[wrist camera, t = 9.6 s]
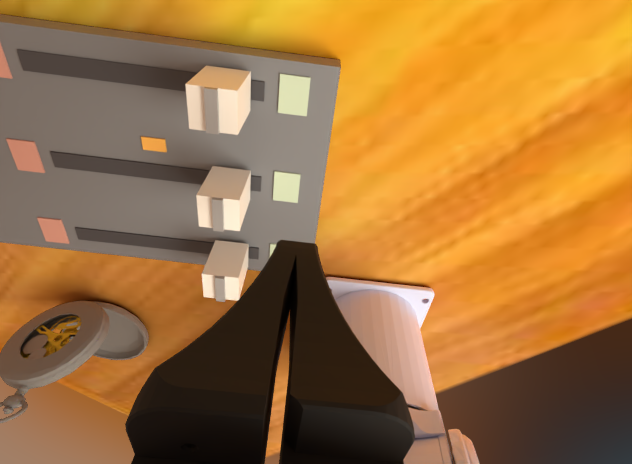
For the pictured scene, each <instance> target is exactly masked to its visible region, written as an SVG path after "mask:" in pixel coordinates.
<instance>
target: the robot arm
mask: <svg viewBox="0 0 632 464" xmlns="http://www.w3.org/2000/svg"><path fill="white" fill-rule="evenodd" d="M330 288H331V289H330ZM426 298H427V299H426ZM433 298H434V291H433V289H431V288H427V287H418V286H409V285H400V284H391V283H382V282H373V281H364V280H355V279H345V278H336V277H325V275H324V272H323V269H322V265H321V262H320V258H319V254H318V247H317V245H316V244H315V243H306V242H297V241H289V240H279V241H278V242H277V244H276V247H275V249H274V251H273V253H272V255H271V256H270V258H269V260H268V261H267V263H266V265H265V266H264V268H263V269H262V271H261V272H260V274H259V275H258V277H257V278H256V279H255V281H254V282H253V283H252V284H251V286H250V287H249V288H248V289H247V291H246V292H245V293H244V294H243V296H242V297H241V298H240V299H239V300H238V301H237V302H236V303H235V304H234V306H233V307H232V308H231V309H230V310H229V311H228V312H227V313H226V314H225V315H224V316H223V317H222V318H220V319H219V320H218V321H217V322H216V323H215V324H214V325H213V326H212V327H211V328H210V329H208V330H207V331H206V332H205V333H203V334H202V335H201V336H200V337H198V338H197V339H196V340H195V341H193V342H192V343H191V344H190V345H188V346H187V347H186V348H184V349H183V350H181V351H180V352H179V353H177V354H176V355H174V356H173V357H171V358H170V359H168V360H167V361H165V362H164V363H162V364H161V365H159V366H157V367H156V368H155V369H154V370H153V372H152V373H151V375H150V376H149V378H148V379H147V381H146V382H145V384H144V386H143V387H142V389H141V391H140V393H139V394H138V396H137V398H136V400H135V402H134V405H133V407H132V409H131V412H130V414H129V417H128V419H127V421H126V424H125V425H126V432H127V434H128V437H129V440H130V442H131V445H132V448H133V450H134V453H135V456H134V458H133V461H132V463H131V464H264V463H265V455H266V447H267V440H268V432H269V424H270V416H271V408H272V400H273V393H274V385H275V377H276V371H277V365H278V360H279V356H280V351H281V347H282V342H283V338H284V333H285V329H286V324H287V320H288V316H289V311H290V351H289V376H288V386H287V395H286V404H285V414H284V423H283V432H282V441H281V451H280V460H279V464H453V462H452V458H451V453H450V449H449V445H448V441H447V437H446V433H445V429H444V425H443V421H442V417H441V414H440V411H439V410H438V405H437V401H436V396H435V392H434V388H433V383H432V379H431V375H430V370H429V366H428V362H427V358H426V353H425V349H424V345H423V340H422V336H421V332H420V328H421V326H422V323H423V321H424V319H425V316H426V314H427V312H428V310H429V307H430V305H431V303H432V300H433ZM423 299H424V300H423ZM448 432H449V436H450V440H451V444H452V448H453V451H452V454H453V459H454V463H455V464H479V461H478V458H477V455H476V452H475V449H474V446H473V443H472V441H471V440H470V439H469V438H467V437H466V436H465V435H462V434H461V432H460V431H459V430H458V429H450V430H448Z"/></svg>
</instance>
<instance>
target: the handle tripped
mask: <svg viewBox="0 0 632 464" xmlns="http://www.w3.org/2000/svg"><path fill="white" fill-rule="evenodd" d="M250 183H251V171H250V170H242V169H234V168H226V167H217V166H212V168H211V170H210V172H209V174H208V175H207V177H206V179H205V181H204V182H203V184H202V186H201V188H200V190H199V191H198V193H197V195H196V198H197V210H198V222H199V227H207V228H213V231H220V232H224V229H225V230H234V231H240V229H241V226H242V223H243V220H244V217H245V214H246V211H247V208H248V205H249V202H250Z"/></svg>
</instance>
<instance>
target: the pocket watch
mask: <svg viewBox="0 0 632 464" xmlns="http://www.w3.org/2000/svg"><path fill="white" fill-rule="evenodd" d="M54 329H62V330H61V332H63V333H61V332H60V333H59V334H58V333H54V332H52V331H53V330H54ZM55 338H56V339H55ZM54 340H56V341H54ZM148 340H149V336H148V332H147V329H146V327H145V325H144V324H143V323H142V322H141V321H140V320H139V319H138V318H137V317H136V316H135V315H133V314H132V313H130V312H128V311H127V310H125V309H124V308H121V307H118V306H116V305H113V304H109V303H104V302H95V301H74V302H68V303H65V304H62V305H59V306H56V307H54V308H51V309H49V310H47V311H45V312H43V313H41V314H40V315H38V316H36V317H35V318H33V319H32V320H30V321H29V322H28V323H26V324H25V325H24V326H22V327H21V328H20V329H19V330H18V331H17V332H15V334H14V335H13V336H12V337H11V338H10V339H9V340H8V341H7V343H6V344H5V346H4V347H3V349H2V351H1V353H0V376H1V378H2V379H3V381H4V382H5V383H6V384H7V385H9V386H11V387H13V388H17V391H16V393H15V395H12V396H9V397H7V398H6V399H5V400H4V401H3V402H1V403H0V407H1V406H3V405H4V406H5V408H4V409H3V411H4V413H5V414H9V413H12V412H13V411H14V410H13V408H18V407H20V406H22V409H21V410H20V411H18V412H17V413H16V414H13V415H11V416H9V417H6V418H4V419H0V423H3V422H6V421H8V420H11V419H14V418H16V417H17V416H19V415H21V414H22V413H23V412H25V410H26V409H27V407H28V404H27V402H25V400H26V399H25V398H24V397H23V396H24V395H25V393H26V392H27V391H28V390H29V389H31V388H37V387H42V386H45V385H47V384H50V383H52V382H55V381H57V380H59V379H61V378H63V377H65V376H66V375H68V374H70V373H72V372H73V371H75V370H76V369H77V368H78V367H80V366H81V365H82V364H83V363H85V362H86V361H87V360H88V359H90V357H91V356H92V355H94V356H97V357H101V358H106V359H111V360H127V359H132V358H135V357H137V356H139V355H140V354H142V353H143V351H144V350H145V349H146V347H147V344H148ZM67 341H68V342H69V343H68V342H67ZM62 342H63V343H62ZM66 342H67V343H66Z"/></svg>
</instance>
